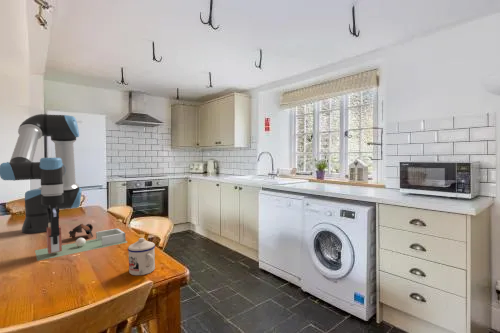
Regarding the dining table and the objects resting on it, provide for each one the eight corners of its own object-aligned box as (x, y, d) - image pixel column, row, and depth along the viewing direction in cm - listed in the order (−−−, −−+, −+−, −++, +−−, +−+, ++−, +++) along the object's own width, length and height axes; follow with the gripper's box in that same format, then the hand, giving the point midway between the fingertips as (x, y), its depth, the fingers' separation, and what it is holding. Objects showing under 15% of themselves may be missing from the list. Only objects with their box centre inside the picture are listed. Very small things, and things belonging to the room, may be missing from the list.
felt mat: (34, 250, 119) (34, 250, 119) (118, 235, 142) (118, 234, 142) (37, 261, 107) (37, 260, 107) (127, 242, 130) (127, 242, 130)
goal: (96, 240, 133) (96, 231, 133) (118, 235, 140) (118, 228, 140) (102, 246, 124) (102, 237, 124) (125, 241, 131) (125, 233, 131)
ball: (74, 246, 124) (74, 237, 124) (84, 244, 127) (84, 236, 127) (76, 248, 121) (76, 239, 121) (86, 246, 124) (86, 237, 124)
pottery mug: (87, 242, 133) (76, 228, 131) (72, 249, 134) (62, 236, 132) (101, 229, 144) (91, 216, 142) (87, 236, 146) (78, 224, 144)
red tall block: (47, 250, 115) (46, 222, 114) (60, 248, 118) (59, 220, 117) (48, 253, 112) (47, 224, 111) (61, 251, 114) (60, 222, 114)
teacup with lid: (123, 271, 98) (122, 238, 97) (147, 263, 104) (147, 233, 104) (140, 281, 90) (139, 246, 89) (164, 272, 96) (164, 239, 96)
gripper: (39, 193, 118) (41, 246, 119) (42, 198, 105) (45, 258, 106) (60, 191, 123) (62, 242, 124) (66, 196, 109) (68, 253, 110)
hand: (54, 249), depth 115 cm, fingers closed on red tall block, 4 cm apart
